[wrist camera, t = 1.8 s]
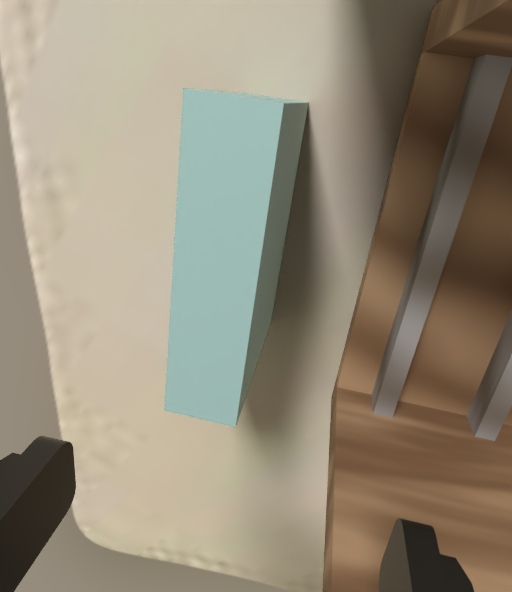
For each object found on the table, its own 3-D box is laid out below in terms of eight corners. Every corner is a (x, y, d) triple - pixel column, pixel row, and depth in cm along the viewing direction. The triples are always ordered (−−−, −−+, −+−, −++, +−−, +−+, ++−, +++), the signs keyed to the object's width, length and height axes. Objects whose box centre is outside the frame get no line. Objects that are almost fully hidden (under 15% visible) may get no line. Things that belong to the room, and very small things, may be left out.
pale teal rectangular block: (247, 93, 25) (183, 88, 15) (308, 102, 25) (283, 103, 15) (222, 311, 31) (164, 410, 21) (271, 321, 31) (235, 427, 21)
